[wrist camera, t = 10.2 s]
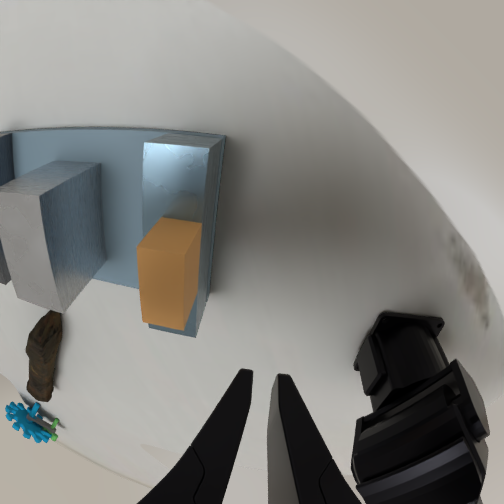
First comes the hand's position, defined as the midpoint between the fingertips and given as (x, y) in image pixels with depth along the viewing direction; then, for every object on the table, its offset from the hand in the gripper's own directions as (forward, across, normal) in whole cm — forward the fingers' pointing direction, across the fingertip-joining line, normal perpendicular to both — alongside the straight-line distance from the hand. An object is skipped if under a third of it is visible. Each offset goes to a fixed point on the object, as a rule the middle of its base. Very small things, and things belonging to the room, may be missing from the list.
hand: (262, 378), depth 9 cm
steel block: (+10, +13, 0) cm, 16 cm away
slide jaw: (+10, +5, 0) cm, 11 cm away
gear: (+11, +35, +41) cm, 55 cm away
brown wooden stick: (+12, +23, +19) cm, 32 cm away
